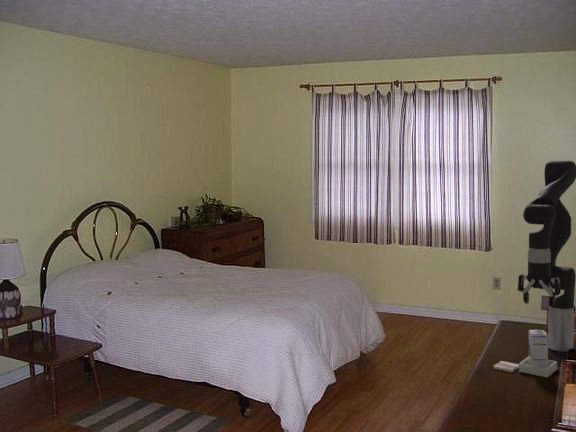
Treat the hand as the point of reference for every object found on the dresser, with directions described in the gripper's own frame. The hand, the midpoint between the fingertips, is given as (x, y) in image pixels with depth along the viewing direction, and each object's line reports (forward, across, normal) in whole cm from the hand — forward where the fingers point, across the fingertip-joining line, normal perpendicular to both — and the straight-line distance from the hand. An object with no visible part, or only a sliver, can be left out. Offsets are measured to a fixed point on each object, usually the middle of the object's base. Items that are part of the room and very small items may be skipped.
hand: (538, 304), depth 220 cm
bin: (+24, 0, 0) cm, 24 cm away
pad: (+24, +10, +4) cm, 27 cm away
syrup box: (+25, 0, 0) cm, 25 cm away
